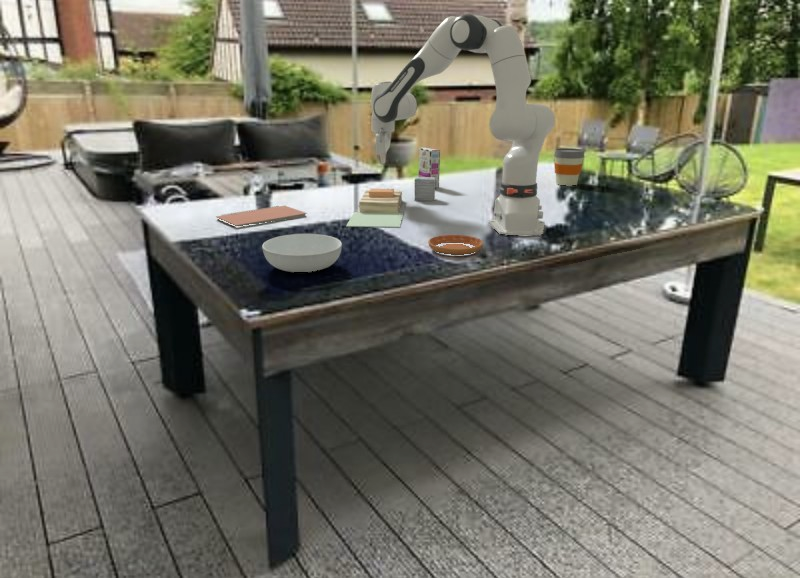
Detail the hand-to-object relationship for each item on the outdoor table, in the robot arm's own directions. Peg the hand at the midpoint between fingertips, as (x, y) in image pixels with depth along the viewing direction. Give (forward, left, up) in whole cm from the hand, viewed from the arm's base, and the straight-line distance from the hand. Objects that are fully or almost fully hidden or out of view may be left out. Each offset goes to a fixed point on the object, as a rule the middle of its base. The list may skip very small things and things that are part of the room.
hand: (383, 163), depth 243 cm
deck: (-10, 0, -15) cm, 18 cm away
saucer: (-66, -27, -15) cm, 73 cm away
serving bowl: (-85, +14, -15) cm, 88 cm away
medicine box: (+3, -16, -15) cm, 22 cm away
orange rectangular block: (-9, 0, -11) cm, 14 cm away
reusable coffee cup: (+39, -78, -15) cm, 88 cm away
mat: (-31, 0, -15) cm, 34 cm away
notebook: (-30, +41, -15) cm, 53 cm away
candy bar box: (+30, -17, -15) cm, 37 cm away
